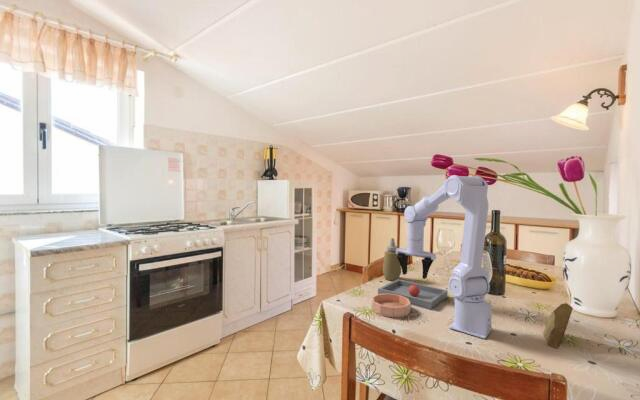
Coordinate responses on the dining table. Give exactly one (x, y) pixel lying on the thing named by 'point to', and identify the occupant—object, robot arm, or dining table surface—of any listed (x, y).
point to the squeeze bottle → (391, 263)
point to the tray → (425, 298)
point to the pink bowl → (391, 305)
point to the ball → (414, 290)
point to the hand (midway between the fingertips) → (414, 276)
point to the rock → (557, 324)
